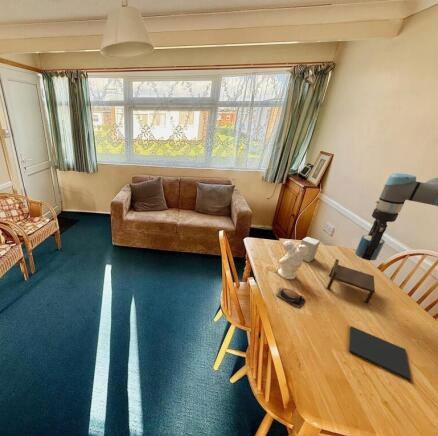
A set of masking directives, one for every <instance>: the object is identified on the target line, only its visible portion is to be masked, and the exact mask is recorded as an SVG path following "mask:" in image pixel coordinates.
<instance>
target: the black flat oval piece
mask: <svg viewBox="0 0 438 436" xmlns="http://www.w3.org/2000/svg"><path fill="white" fill-rule="evenodd" d="M276 296H277V297H278V298H280V299H282V300H283V301H285V302H286V303H289V304H290V305H293V306H295V307H297V308H301V307H302V306H303V304H304V303H305V301H306V299H305V297H304V296H303V295H299V293H298V292H296V291H295V290H293V289H290V288H284V287H282V288H281V289H280V290H279V291H278V292H277V293H276Z"/></svg>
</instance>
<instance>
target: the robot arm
mask: <svg viewBox="0 0 438 436" xmlns="http://www.w3.org/2000/svg"><path fill="white" fill-rule="evenodd" d="M406 201H409V202H415V203H420V204H424V205H425V204H426V205H431V206H435V207H438V177H434V178H430V179H429V180H427V181H426V182H421V181H417V176H416V175H413V174H408V173H397V172H396V173H392V174H390V175H389V177H388V179H387V180H386V182H385V184H384V187H383V189H382V191H381V194H380V196H379V198H378V200H375V203H376V205H375V208H374V209H373V211H372V213H371V217H372V219H375V220H374V221H373V224H372V226H371V228H370V230H369V232H368V234H367V235H371V236H372V237H371V240H370V243H369V245H366V247H367V248H366V250H365V252H364V254H363V256H362V258H361V259H362V260H366V261H369V262H370V261H371V260H370V259H371V257H372V255H373V253H374V251H375V249H377V247H378V245H379V243H380V240H381V239H382V238H383V236H384V234H385V232H386V231H387V227H388V223H393V222H394V223H395V222H396V220H397V218H398V216H399V213H401V211H402V209H403V207H404V204H405V202H406Z"/></svg>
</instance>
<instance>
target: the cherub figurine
mask: <svg viewBox="0 0 438 436" xmlns="http://www.w3.org/2000/svg"><path fill="white" fill-rule="evenodd" d="M282 247H283V249H284V250H285V252H286V254H285V255H284V256H283V257H282V258H280V259H279V260H278V263H279V264H280V268H279V269H278V270H277V273H278V275H279V276H280V277H281V278H284V279H286V280H287V279H288V280H294V279H296V276H297V275H296V272H297V271H298V269H299V268H301V267H302V265H303V263H304V262H303V261H304V260H303V255H307V254H308V251H309V250H308V249H309V248H308V246H306V245H305V244H304V245H301V244H300V245H299V246H298V247H297V246H296V243H295V242H294V241H293V240H285V241H284V242H283V243H282Z"/></svg>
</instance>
